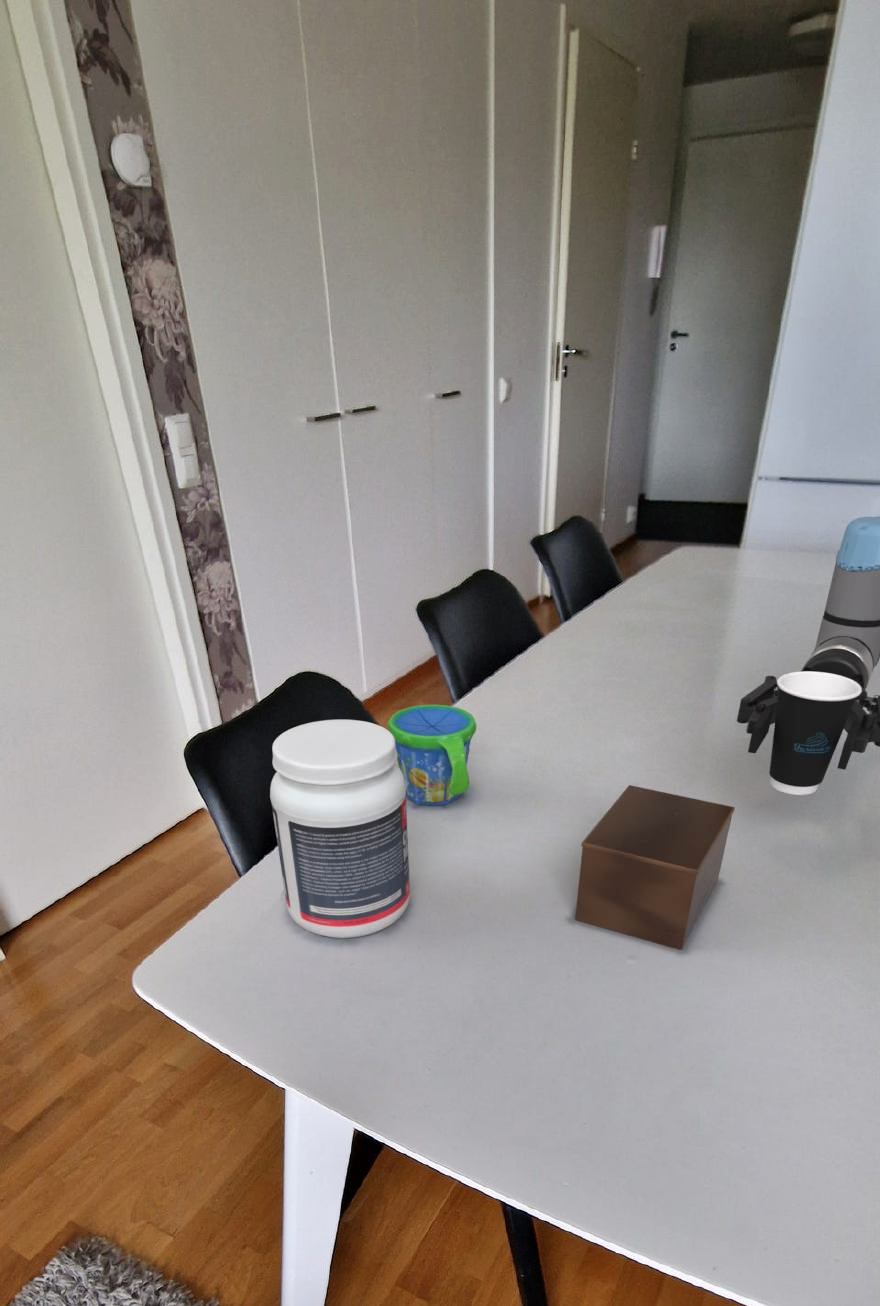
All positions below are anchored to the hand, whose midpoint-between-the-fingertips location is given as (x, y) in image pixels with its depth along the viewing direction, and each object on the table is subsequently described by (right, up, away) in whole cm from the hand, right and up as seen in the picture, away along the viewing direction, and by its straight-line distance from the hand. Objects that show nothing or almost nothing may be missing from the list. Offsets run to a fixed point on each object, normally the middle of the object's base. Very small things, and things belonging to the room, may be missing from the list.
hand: (798, 747), depth 84 cm
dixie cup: (+2, -3, +7) cm, 8 cm away
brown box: (-14, -15, +5) cm, 21 cm away
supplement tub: (-45, -16, +4) cm, 48 cm away
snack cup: (-36, 0, +25) cm, 44 cm away
